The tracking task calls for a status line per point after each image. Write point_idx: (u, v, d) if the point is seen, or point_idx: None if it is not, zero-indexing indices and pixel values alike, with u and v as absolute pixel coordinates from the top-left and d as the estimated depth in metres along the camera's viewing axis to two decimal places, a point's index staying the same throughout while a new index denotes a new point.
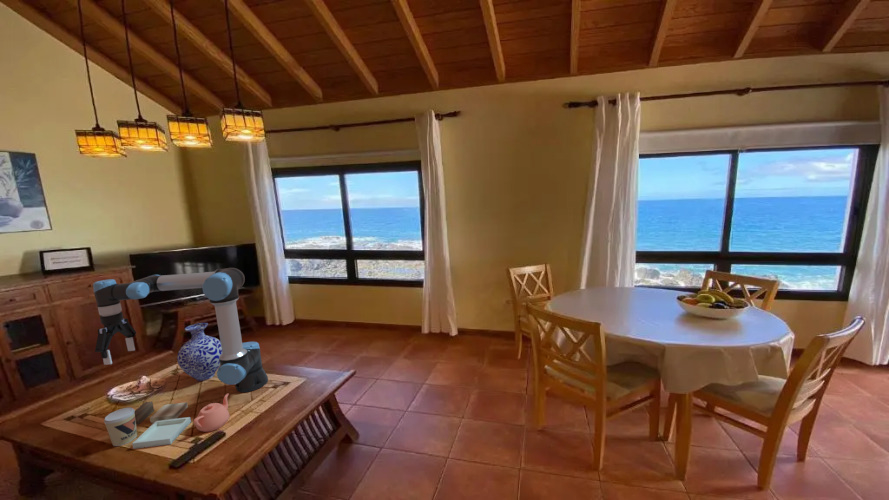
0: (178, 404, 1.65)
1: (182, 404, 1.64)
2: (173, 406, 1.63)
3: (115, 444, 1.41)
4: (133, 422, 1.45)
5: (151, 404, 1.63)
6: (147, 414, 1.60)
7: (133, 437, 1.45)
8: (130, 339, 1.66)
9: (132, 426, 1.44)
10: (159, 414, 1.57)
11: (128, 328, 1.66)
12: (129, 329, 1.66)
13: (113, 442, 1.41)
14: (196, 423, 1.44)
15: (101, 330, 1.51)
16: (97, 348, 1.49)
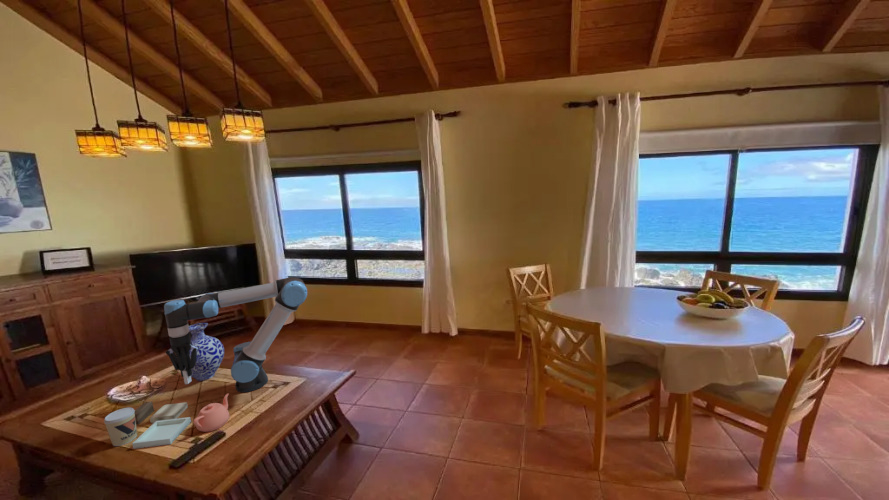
0: (178, 404, 1.65)
1: (182, 404, 1.64)
2: (173, 406, 1.63)
3: (115, 444, 1.41)
4: (133, 422, 1.45)
5: (151, 404, 1.63)
6: (147, 414, 1.60)
7: (133, 437, 1.45)
8: None
9: (132, 426, 1.44)
10: (159, 414, 1.57)
11: None
12: None
13: (113, 442, 1.41)
14: (196, 423, 1.44)
15: None
16: None
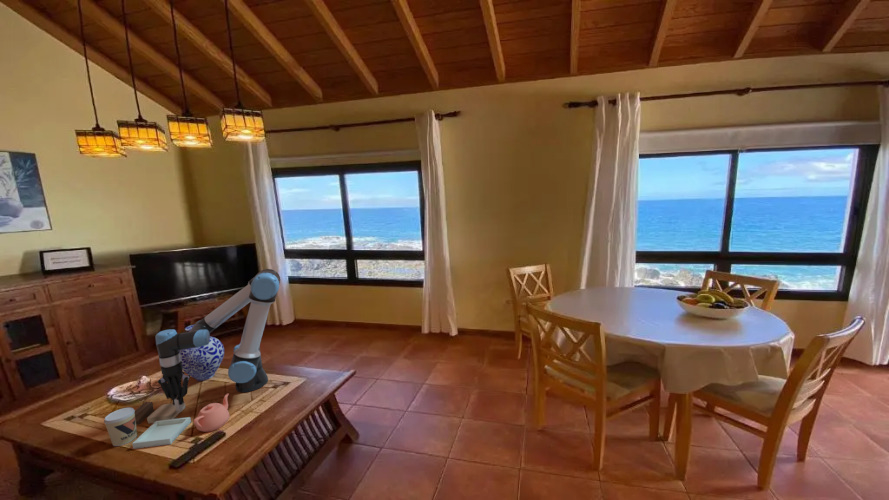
0: None
1: None
2: (171, 406, 1.63)
3: (115, 444, 1.41)
4: (133, 422, 1.45)
5: (151, 404, 1.63)
6: (147, 414, 1.60)
7: (133, 437, 1.45)
8: None
9: (132, 426, 1.44)
10: (156, 414, 1.57)
11: None
12: None
13: (113, 442, 1.41)
14: (196, 423, 1.44)
15: None
16: None
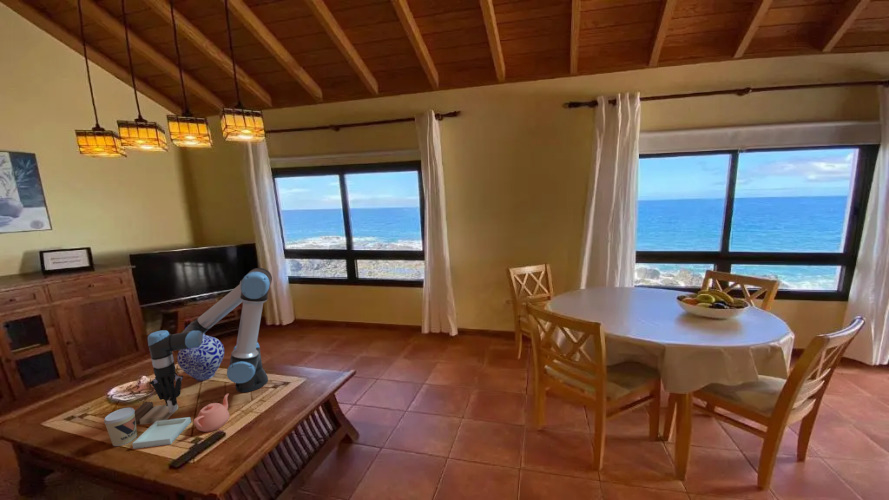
0: None
1: None
2: (163, 407, 1.62)
3: (115, 444, 1.41)
4: (133, 422, 1.45)
5: (151, 404, 1.63)
6: None
7: (133, 437, 1.45)
8: None
9: (132, 426, 1.44)
10: (149, 416, 1.56)
11: None
12: None
13: (113, 442, 1.41)
14: (196, 423, 1.44)
15: None
16: None
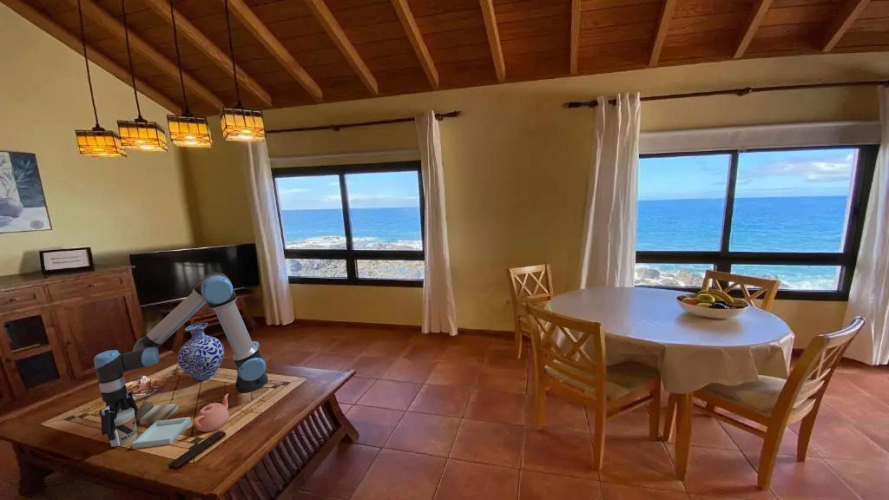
0: (168, 405, 1.64)
1: (172, 405, 1.64)
2: (163, 407, 1.62)
3: None
4: (133, 422, 1.45)
5: (151, 404, 1.63)
6: None
7: (133, 437, 1.45)
8: None
9: (132, 425, 1.44)
10: (148, 416, 1.56)
11: (130, 404, 1.49)
12: (131, 405, 1.49)
13: None
14: (196, 423, 1.44)
15: (103, 412, 1.36)
16: (103, 431, 1.36)
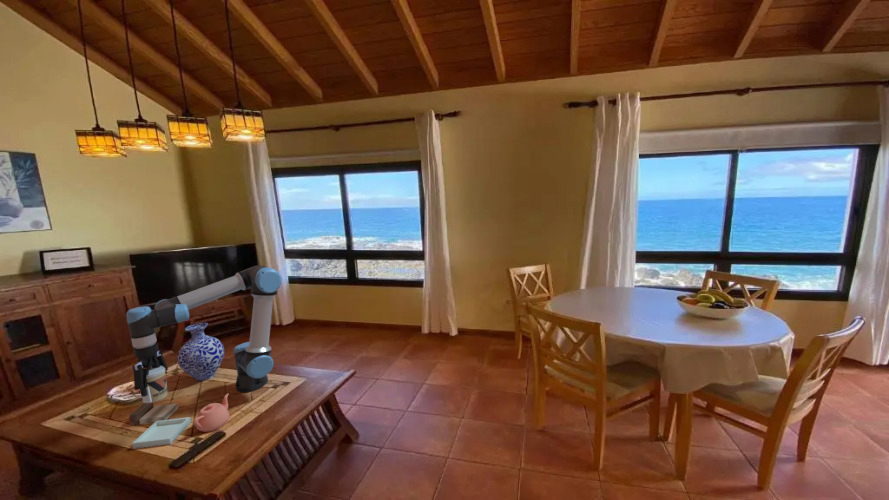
0: (168, 405, 1.64)
1: (172, 405, 1.64)
2: (163, 407, 1.62)
3: None
4: (164, 380, 1.44)
5: (151, 404, 1.63)
6: None
7: (164, 395, 1.44)
8: None
9: (163, 383, 1.43)
10: (148, 416, 1.56)
11: (161, 363, 1.48)
12: (161, 364, 1.48)
13: None
14: (196, 423, 1.44)
15: (136, 367, 1.35)
16: (136, 386, 1.35)
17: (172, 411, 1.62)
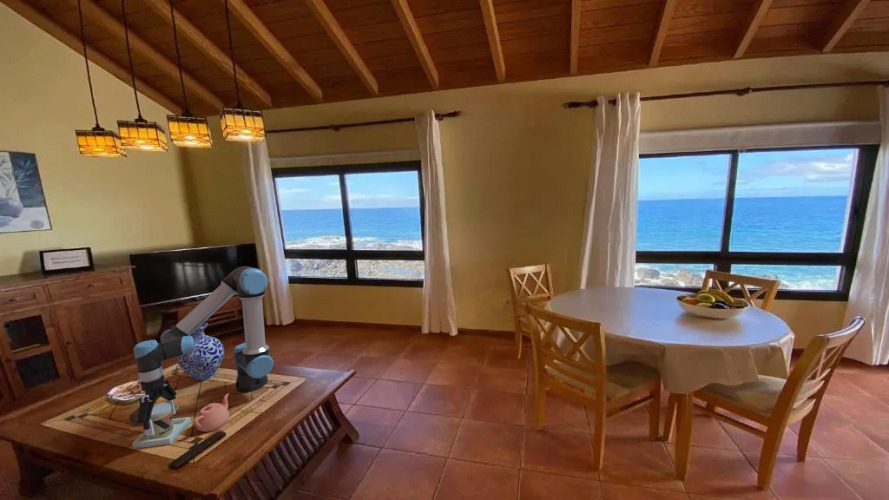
0: None
1: None
2: None
3: None
4: (170, 417, 1.46)
5: None
6: None
7: (170, 432, 1.46)
8: (170, 402, 1.52)
9: (169, 421, 1.45)
10: None
11: (168, 390, 1.52)
12: (169, 391, 1.52)
13: (151, 437, 1.42)
14: (196, 423, 1.44)
15: (143, 399, 1.37)
16: (139, 420, 1.35)
17: None
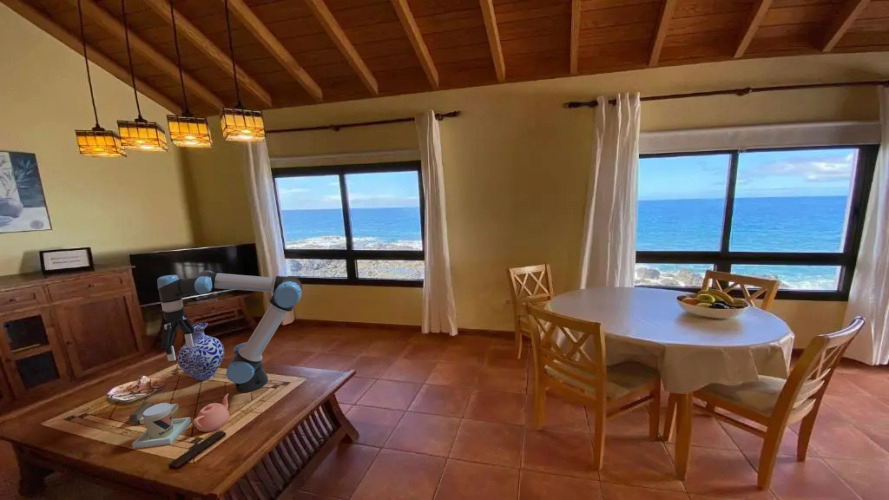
0: None
1: (172, 405, 1.64)
2: None
3: None
4: (170, 417, 1.46)
5: (151, 404, 1.63)
6: None
7: (170, 432, 1.46)
8: (189, 335, 1.65)
9: (169, 421, 1.45)
10: None
11: (187, 324, 1.65)
12: (188, 325, 1.65)
13: (151, 437, 1.42)
14: (196, 423, 1.44)
15: (166, 326, 1.50)
16: (163, 344, 1.48)
17: (172, 411, 1.62)
